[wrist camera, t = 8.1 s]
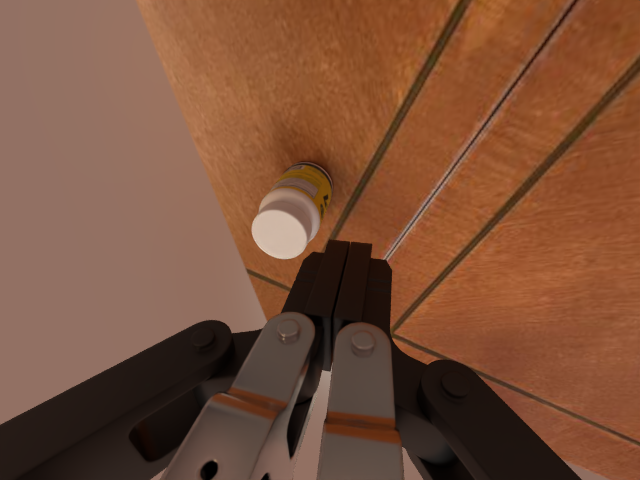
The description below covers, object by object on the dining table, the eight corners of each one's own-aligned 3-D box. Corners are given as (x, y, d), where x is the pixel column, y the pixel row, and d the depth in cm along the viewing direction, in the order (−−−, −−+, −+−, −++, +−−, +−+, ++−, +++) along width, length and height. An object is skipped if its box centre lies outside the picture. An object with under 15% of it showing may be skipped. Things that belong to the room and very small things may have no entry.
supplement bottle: (321, 217, 29) (297, 274, 23) (276, 196, 29) (238, 246, 22) (342, 175, 27) (323, 224, 20) (292, 150, 26) (255, 192, 20)
